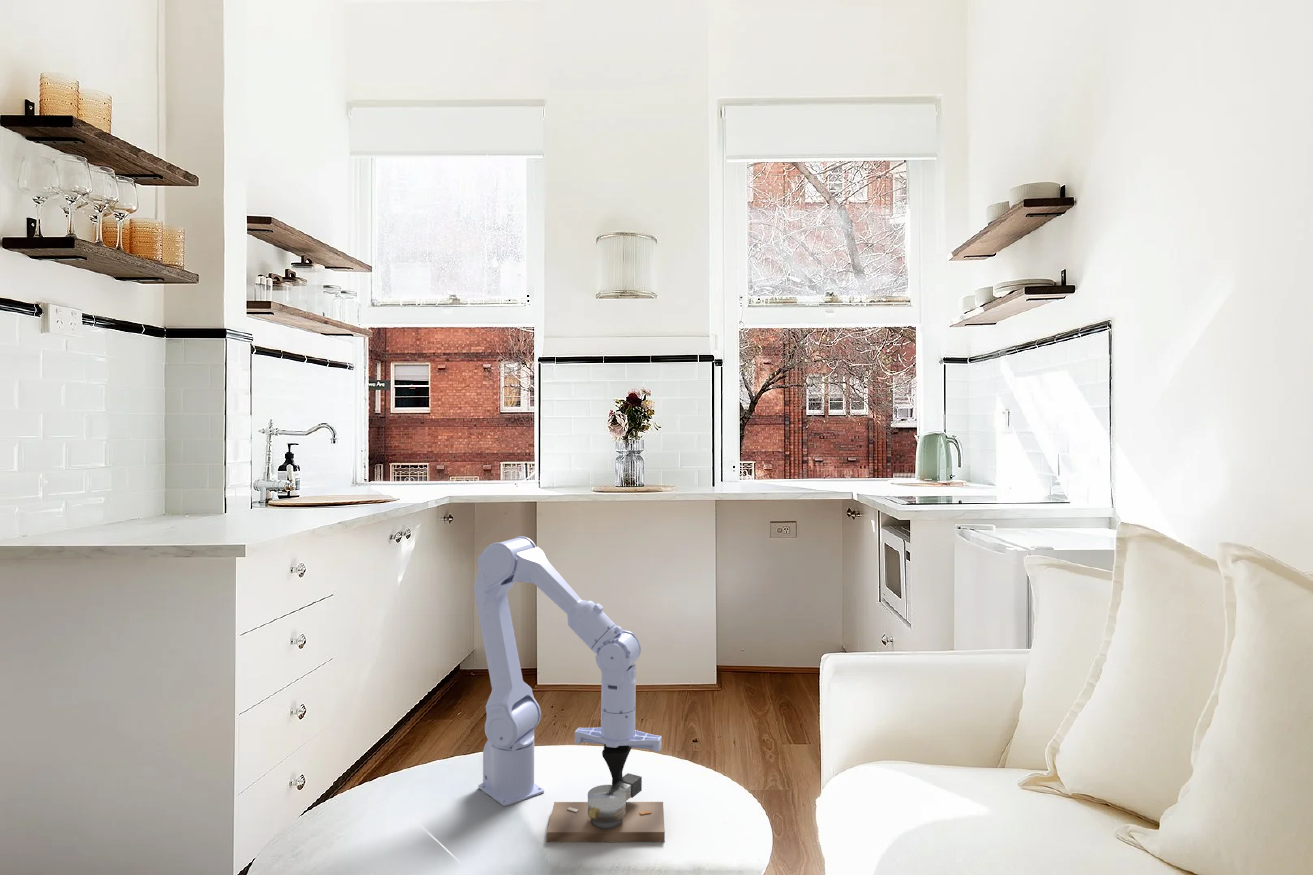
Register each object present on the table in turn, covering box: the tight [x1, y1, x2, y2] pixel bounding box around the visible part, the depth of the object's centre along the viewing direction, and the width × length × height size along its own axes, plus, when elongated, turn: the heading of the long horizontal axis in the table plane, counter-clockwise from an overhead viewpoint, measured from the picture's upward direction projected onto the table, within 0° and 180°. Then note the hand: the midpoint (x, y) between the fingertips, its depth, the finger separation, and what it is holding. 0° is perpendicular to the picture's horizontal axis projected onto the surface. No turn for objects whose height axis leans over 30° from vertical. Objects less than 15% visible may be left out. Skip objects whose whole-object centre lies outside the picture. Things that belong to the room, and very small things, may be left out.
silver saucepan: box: [587, 772, 643, 822], centre depth 122 cm, size 13×6×3 cm, turn 150°
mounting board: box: [546, 801, 666, 843], centre depth 122 cm, size 10×18×2 cm, turn 91°
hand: (617, 788), depth 127 cm, fingers closed
